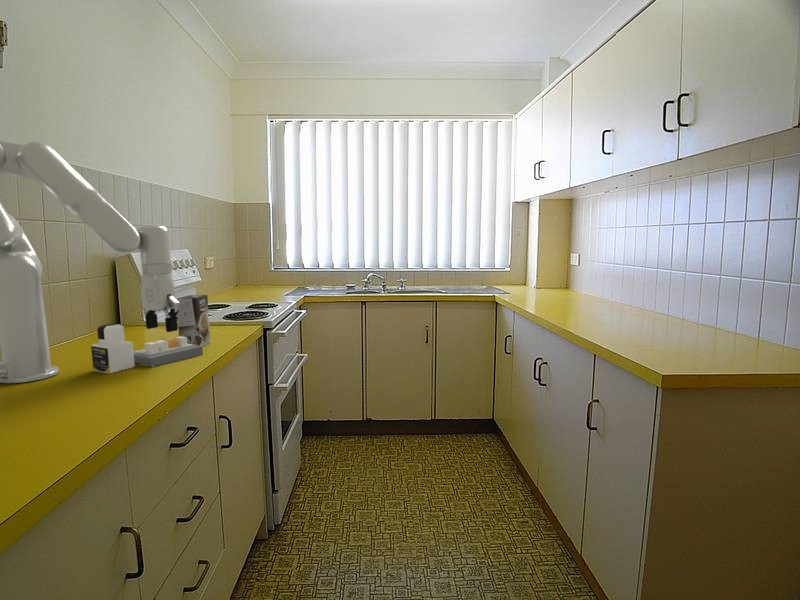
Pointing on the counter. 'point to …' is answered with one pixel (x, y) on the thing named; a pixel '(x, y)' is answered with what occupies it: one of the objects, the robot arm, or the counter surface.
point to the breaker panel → (166, 351)
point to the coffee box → (194, 319)
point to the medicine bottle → (112, 350)
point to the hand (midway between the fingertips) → (162, 329)
